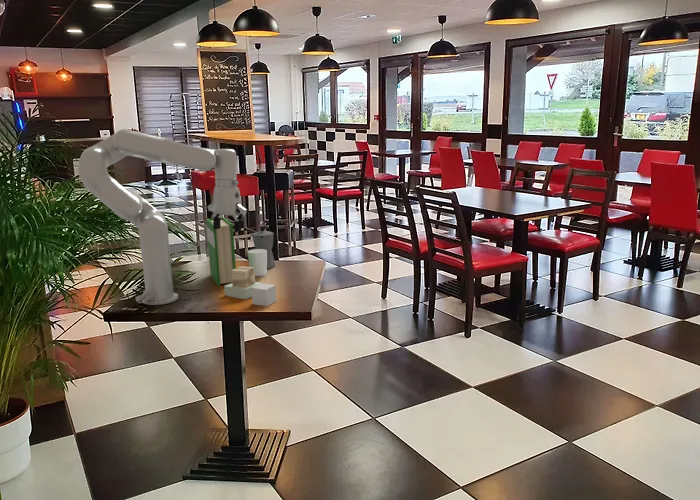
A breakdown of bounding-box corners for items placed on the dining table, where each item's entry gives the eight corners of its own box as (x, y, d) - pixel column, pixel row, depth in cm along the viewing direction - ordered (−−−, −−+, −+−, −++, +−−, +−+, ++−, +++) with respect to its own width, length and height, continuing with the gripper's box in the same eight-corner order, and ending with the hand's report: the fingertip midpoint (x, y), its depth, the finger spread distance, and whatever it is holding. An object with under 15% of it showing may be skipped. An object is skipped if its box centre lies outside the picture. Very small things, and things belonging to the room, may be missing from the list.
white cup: (251, 271, 242) (249, 249, 240) (269, 271, 242) (268, 248, 240) (247, 276, 235) (245, 253, 232) (266, 276, 234) (265, 253, 232)
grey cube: (266, 306, 197) (266, 289, 196) (252, 304, 200) (251, 287, 198) (276, 301, 202) (275, 285, 201) (262, 299, 205) (261, 283, 203)
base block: (244, 300, 205) (244, 289, 204) (225, 296, 210) (224, 285, 210) (263, 293, 213) (263, 283, 212) (244, 289, 219) (243, 279, 218)
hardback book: (236, 283, 225) (232, 223, 220) (217, 286, 222) (213, 225, 217) (228, 273, 241) (224, 217, 236) (210, 275, 238) (206, 218, 233)
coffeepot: (274, 270, 244) (272, 229, 240) (252, 271, 243) (250, 229, 239) (276, 261, 259) (274, 222, 255) (255, 262, 258) (253, 223, 254)
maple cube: (246, 287, 207) (245, 271, 206) (232, 286, 209) (231, 270, 208) (255, 283, 212) (254, 267, 211) (241, 281, 214) (240, 266, 213)
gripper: (251, 184, 205) (252, 231, 209) (214, 181, 213) (216, 226, 217) (238, 185, 199) (239, 234, 202) (200, 182, 206) (202, 229, 210)
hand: (227, 230), depth 209 cm, fingers open, 9 cm apart
